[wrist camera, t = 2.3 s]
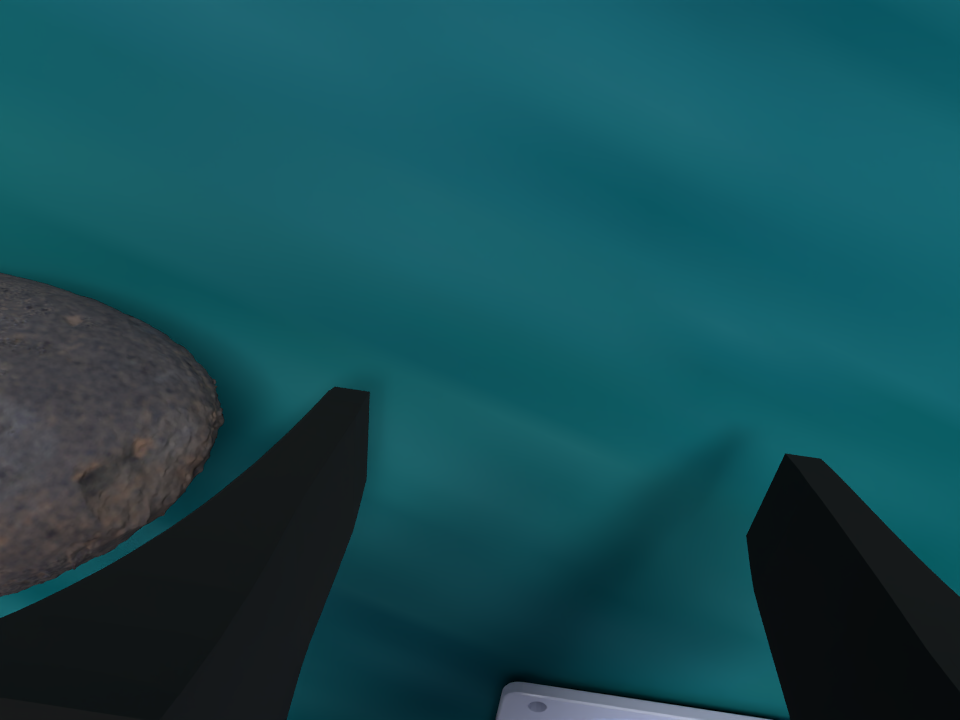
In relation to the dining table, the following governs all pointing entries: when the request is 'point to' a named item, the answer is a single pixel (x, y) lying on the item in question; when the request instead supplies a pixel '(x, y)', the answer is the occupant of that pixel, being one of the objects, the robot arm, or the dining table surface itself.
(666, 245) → the dining table surface
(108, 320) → the perforated stone tool
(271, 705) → the robot arm
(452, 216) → the dining table surface
